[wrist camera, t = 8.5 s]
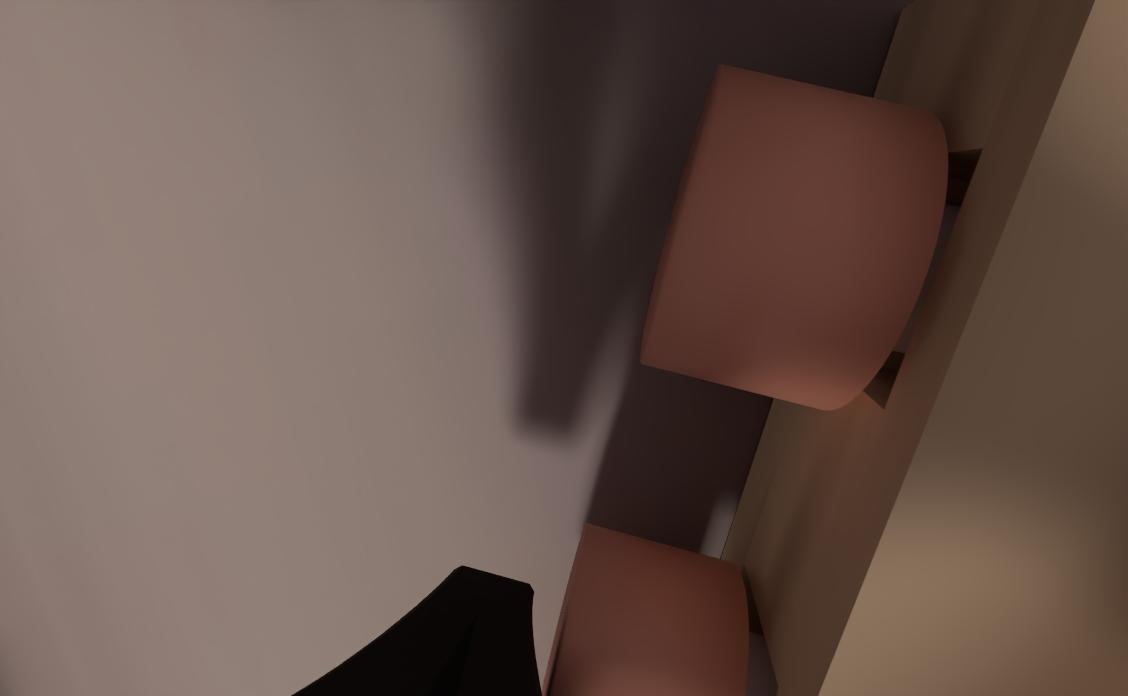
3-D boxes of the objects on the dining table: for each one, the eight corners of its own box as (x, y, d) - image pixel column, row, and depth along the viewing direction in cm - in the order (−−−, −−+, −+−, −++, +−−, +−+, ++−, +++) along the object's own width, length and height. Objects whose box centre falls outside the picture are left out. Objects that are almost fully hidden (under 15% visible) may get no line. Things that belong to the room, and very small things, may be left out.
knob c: (1259, 216, 10) (1663, 232, 6) (1141, 456, 11) (1419, 603, 7) (704, 90, 10) (743, 27, 6) (640, 331, 11) (639, 402, 7)
